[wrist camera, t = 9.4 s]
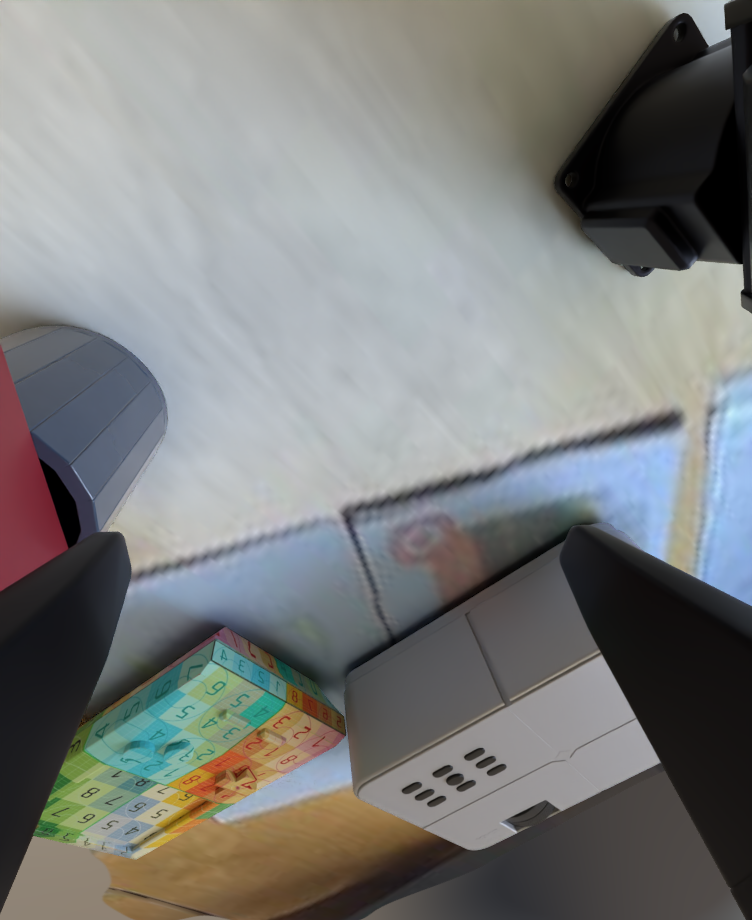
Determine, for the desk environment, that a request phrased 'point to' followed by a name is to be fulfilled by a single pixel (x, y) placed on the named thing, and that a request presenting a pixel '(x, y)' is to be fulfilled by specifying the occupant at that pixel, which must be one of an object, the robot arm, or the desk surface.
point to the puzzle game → (187, 748)
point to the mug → (86, 420)
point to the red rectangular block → (22, 494)
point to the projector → (493, 713)
